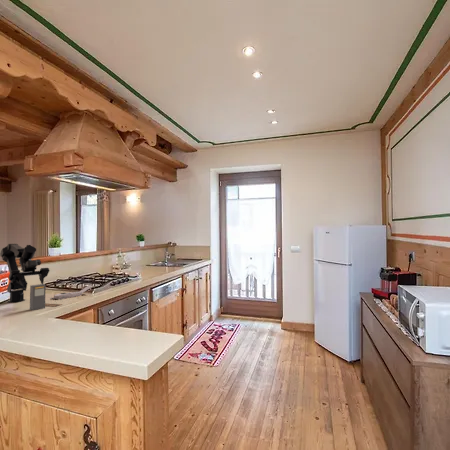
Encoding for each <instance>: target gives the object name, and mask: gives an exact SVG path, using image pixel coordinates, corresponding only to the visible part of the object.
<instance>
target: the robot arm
mask: <svg viewBox="0 0 450 450" xmlns="http://www.w3.org/2000/svg"><path fill="white" fill-rule="evenodd" d="M36 252H37V248H36V247H35V246H32V245H31V244H26V246H25V247H22V246H20V245H19V244H18V243H8V244H7V246H4V247H3V248H2V249H1V251H0V257H1V259H2V261H4V262H6V264H7V268H8V272H9V274H8V280H9V283H8V285H7V289H6V292H7V293H9V300H8V301H7V303H18V302H23V301H25V300H26V299H24V297H25V296H24V295H25V294H24V291H25V292H26V291H27V288H28V281H27V280H26V277H29V276H37V275H38V277H39V281H40V284H44V280H45V278H46V277H48V274H49V273H50V271H51V270H50V268H49V267H41V268H40V269H39V270H37V267H38V266H40V265H41V264H42V261H41V259H34V256H35V254H36ZM16 259H18V260H19V262H18V264H19V265H20V266H21V269H19V265H18V264H17V260H16Z"/></svg>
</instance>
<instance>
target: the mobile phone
mask: <svg viewBox="0 0 450 450" xmlns="http://www.w3.org/2000/svg"><path fill="white" fill-rule="evenodd" d="M92 287H93V285H90V284H89V285H87V286H86V287H84V288H82V289H81V290H80V291H73V292H72V291H71V292H61V293H56V294H54V295H53V297H50V298H49V299H50V300H54V299H55V300H65V299H71V298H76V296H77V297H81V296H80V295H83V293H85V292H86V291H88V290H90V289H91V288H92Z"/></svg>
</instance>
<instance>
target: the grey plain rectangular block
mask: <svg viewBox="0 0 450 450" xmlns="http://www.w3.org/2000/svg"><path fill="white" fill-rule="evenodd" d="M46 286H47V285H46V284H45V283H43V284H42V283H40V284H31V285H30V286H29V287H30V288H29V289H30V290H29V310H30V311H37V310H42V309H46V306H45V304H46V289H47V287H46Z"/></svg>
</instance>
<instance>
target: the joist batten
mask: <svg viewBox="0 0 450 450" xmlns="http://www.w3.org/2000/svg"><path fill="white" fill-rule="evenodd" d="M62 305H63V304H62V303H61V304H60V303H47V302H45V307H50V308H51V307H52V308H53V307H54V308H55V307H60V306H62Z"/></svg>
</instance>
